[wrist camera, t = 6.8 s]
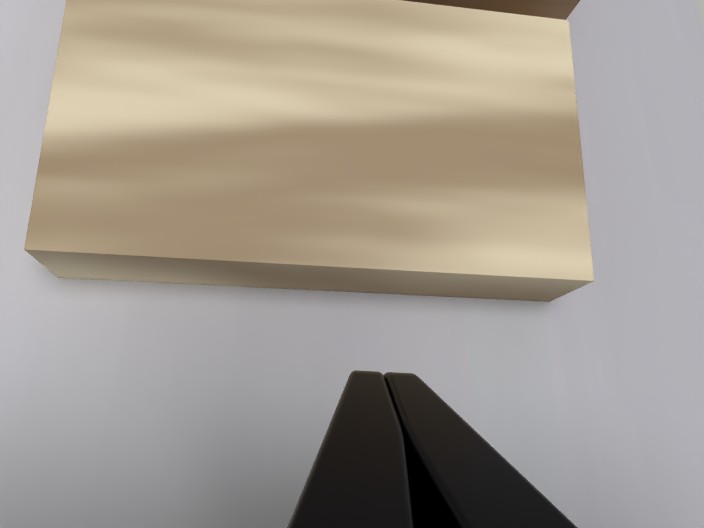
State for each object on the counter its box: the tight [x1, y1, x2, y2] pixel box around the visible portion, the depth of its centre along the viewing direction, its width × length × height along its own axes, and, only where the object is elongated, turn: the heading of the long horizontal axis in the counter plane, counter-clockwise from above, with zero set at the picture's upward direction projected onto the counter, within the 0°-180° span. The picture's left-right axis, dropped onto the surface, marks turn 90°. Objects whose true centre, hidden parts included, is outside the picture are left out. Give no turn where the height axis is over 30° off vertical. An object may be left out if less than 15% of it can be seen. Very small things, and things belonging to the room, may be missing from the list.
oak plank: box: [24, 0, 594, 302], centre depth 18 cm, size 3×14×8 cm
